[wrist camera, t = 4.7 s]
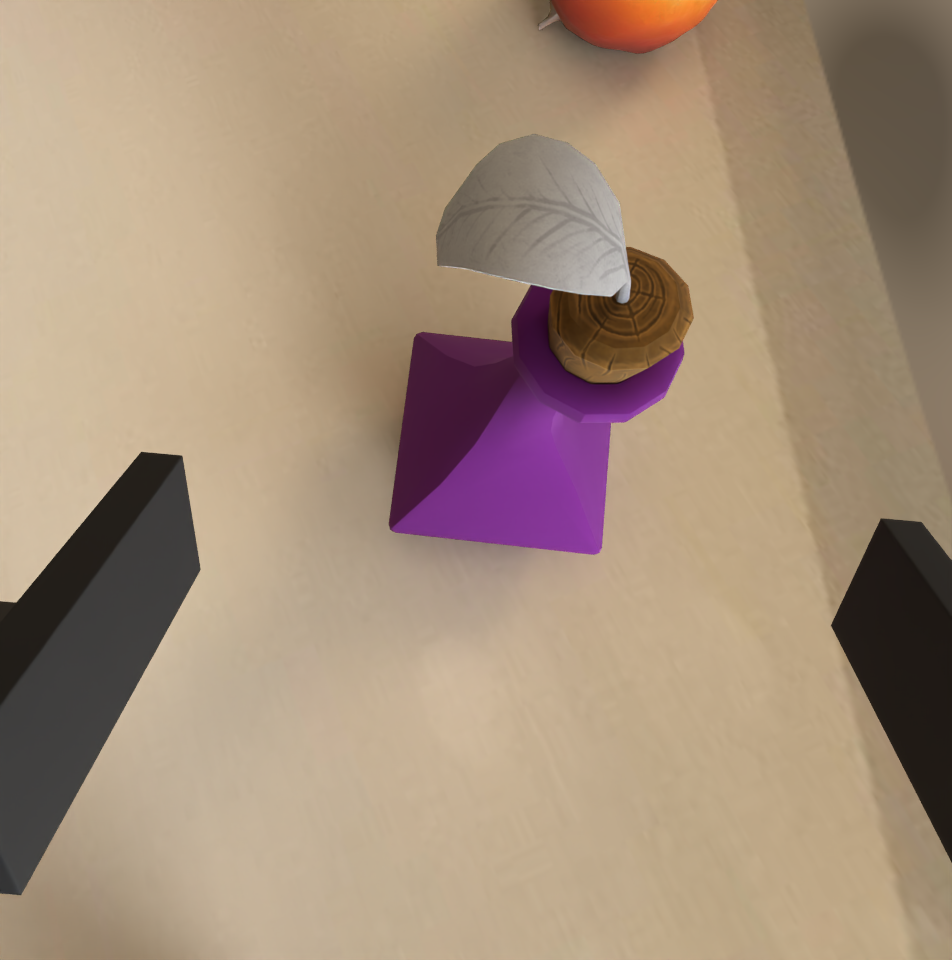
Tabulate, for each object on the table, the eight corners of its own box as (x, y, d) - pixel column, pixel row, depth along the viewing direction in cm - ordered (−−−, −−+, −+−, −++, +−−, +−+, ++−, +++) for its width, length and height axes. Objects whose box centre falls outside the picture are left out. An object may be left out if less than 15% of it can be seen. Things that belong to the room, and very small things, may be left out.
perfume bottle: (599, 383, 30) (796, 38, 13) (585, 564, 29) (787, 452, 11) (418, 363, 30) (370, -12, 13) (395, 542, 29) (301, 397, 11)
